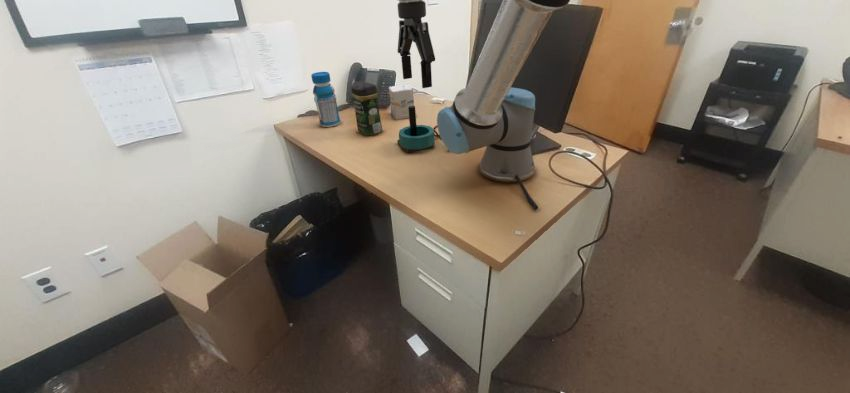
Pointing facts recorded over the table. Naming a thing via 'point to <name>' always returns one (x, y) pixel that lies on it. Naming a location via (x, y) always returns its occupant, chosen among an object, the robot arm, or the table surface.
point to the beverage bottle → (325, 99)
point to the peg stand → (412, 127)
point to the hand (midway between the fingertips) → (416, 82)
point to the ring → (417, 137)
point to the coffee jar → (366, 108)
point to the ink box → (401, 100)
